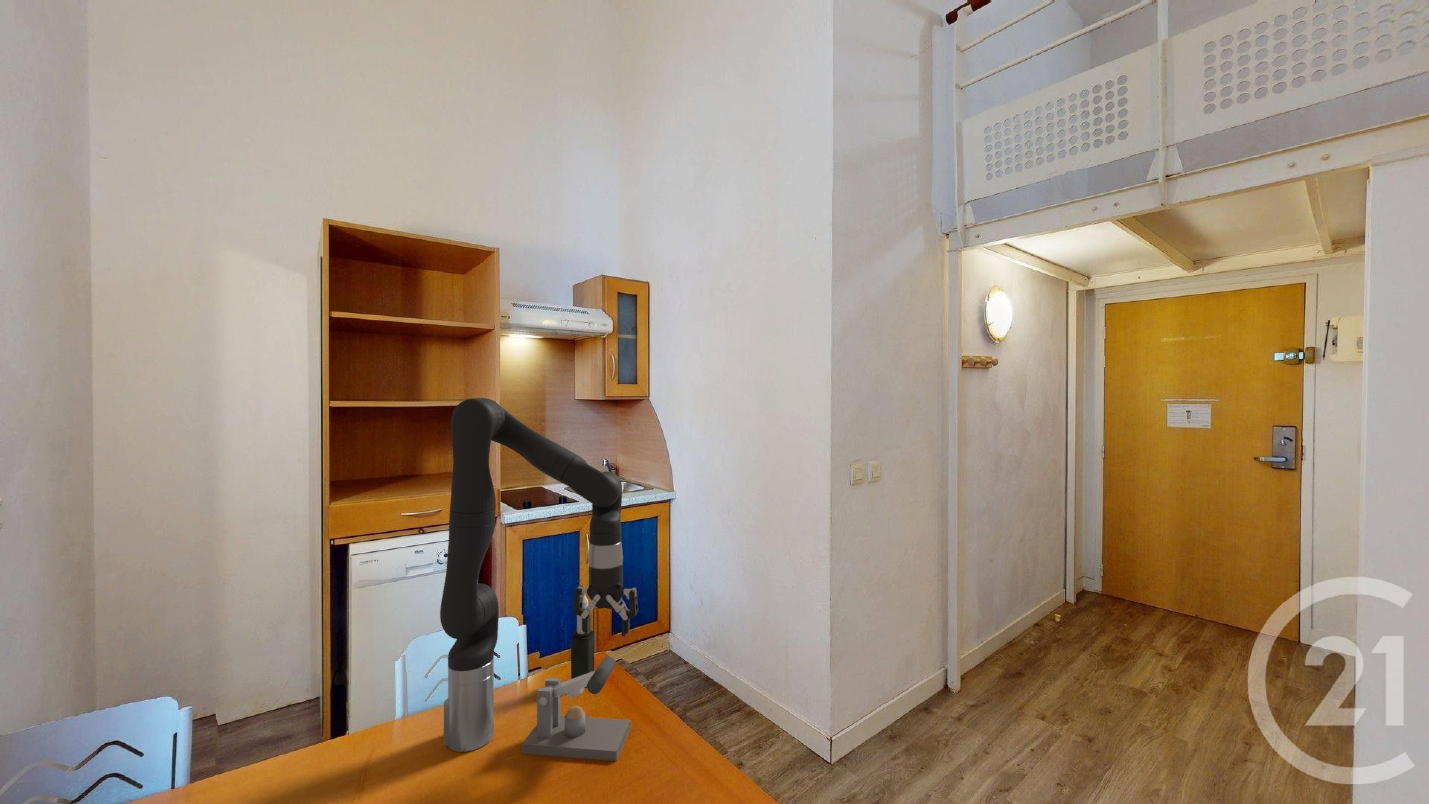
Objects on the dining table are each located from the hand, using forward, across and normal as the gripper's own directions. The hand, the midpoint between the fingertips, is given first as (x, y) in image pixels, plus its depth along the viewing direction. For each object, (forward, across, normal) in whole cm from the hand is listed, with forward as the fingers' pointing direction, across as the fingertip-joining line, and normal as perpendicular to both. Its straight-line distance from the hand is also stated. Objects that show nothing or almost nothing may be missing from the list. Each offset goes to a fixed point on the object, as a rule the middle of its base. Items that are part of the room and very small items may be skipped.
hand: (606, 634), depth 121 cm
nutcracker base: (+22, -5, -3) cm, 23 cm away
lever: (+12, -5, -3) cm, 13 cm away
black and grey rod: (+22, -13, +21) cm, 33 cm away
